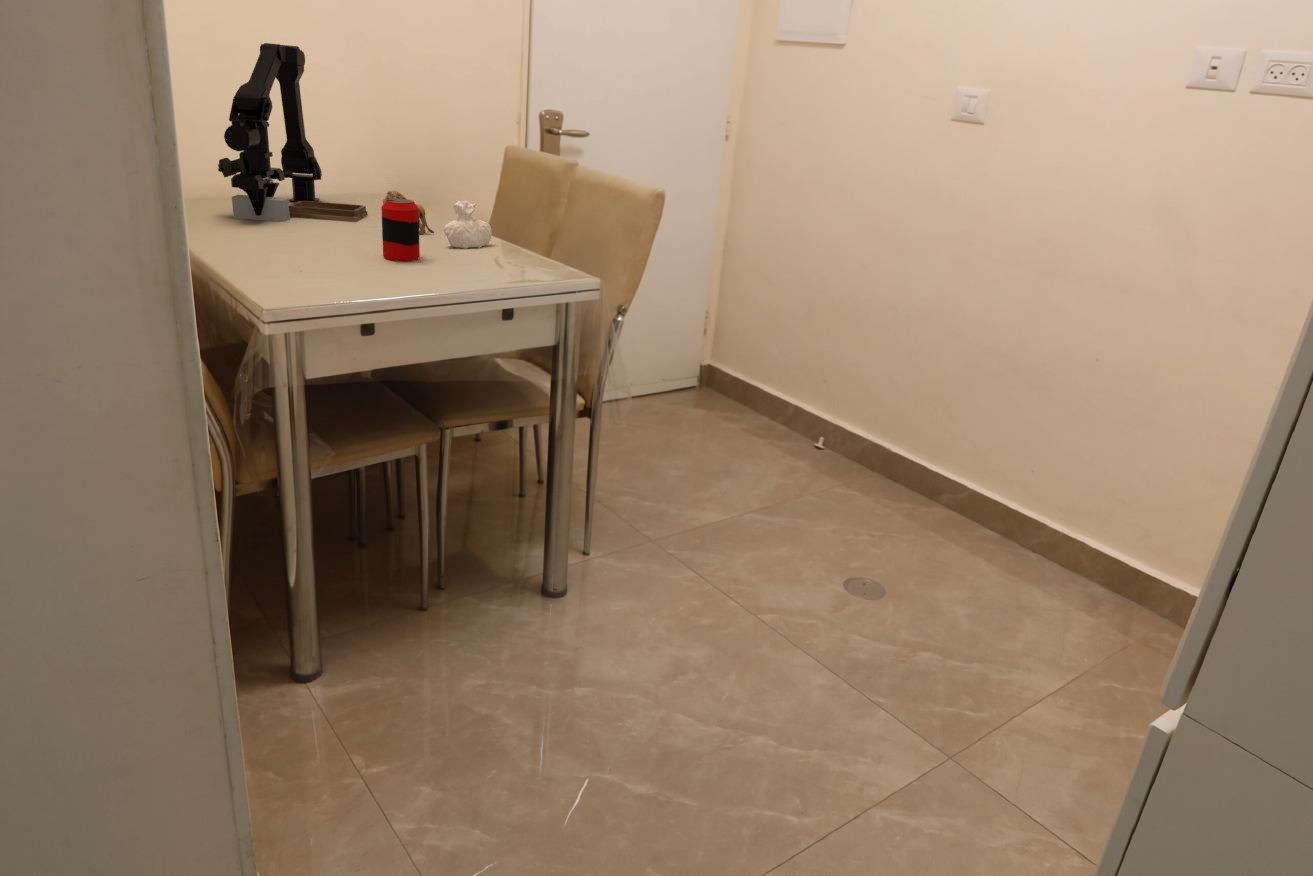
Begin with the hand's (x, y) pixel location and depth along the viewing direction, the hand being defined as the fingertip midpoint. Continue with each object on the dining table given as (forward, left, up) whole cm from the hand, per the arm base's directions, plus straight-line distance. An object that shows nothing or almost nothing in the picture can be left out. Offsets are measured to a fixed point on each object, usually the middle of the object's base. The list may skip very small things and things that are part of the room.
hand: (261, 213), depth 222 cm
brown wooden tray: (-10, +13, -1) cm, 16 cm away
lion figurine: (+1, +36, -1) cm, 36 cm away
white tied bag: (+15, +52, -1) cm, 54 cm away
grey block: (0, 0, -1) cm, 1 cm away
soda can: (+33, +41, -1) cm, 53 cm away
